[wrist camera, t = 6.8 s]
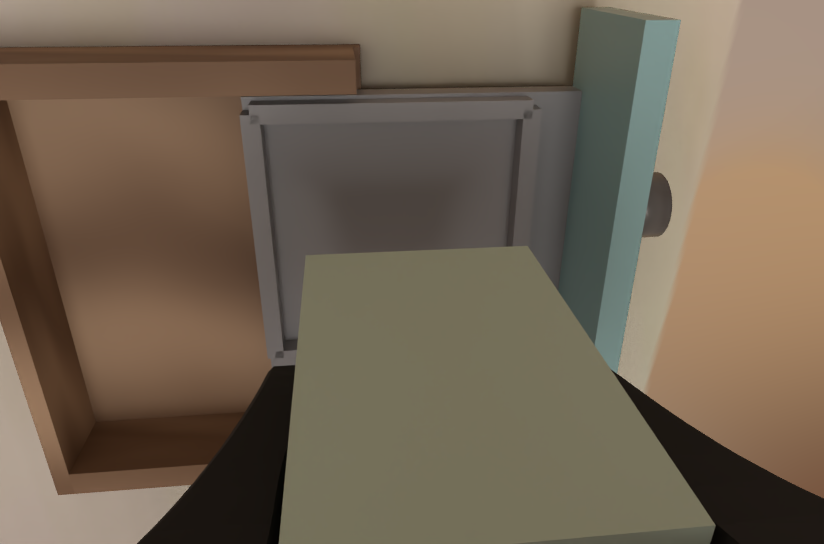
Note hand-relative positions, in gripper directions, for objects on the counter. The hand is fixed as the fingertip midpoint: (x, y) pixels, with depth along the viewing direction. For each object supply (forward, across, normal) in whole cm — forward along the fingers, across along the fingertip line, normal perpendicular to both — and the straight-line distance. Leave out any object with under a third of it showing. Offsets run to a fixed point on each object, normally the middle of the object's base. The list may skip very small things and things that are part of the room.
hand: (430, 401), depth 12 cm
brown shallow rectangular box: (+10, +6, +1) cm, 11 cm away
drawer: (+9, -2, +1) cm, 9 cm away
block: (+2, 0, 0) cm, 2 cm away
